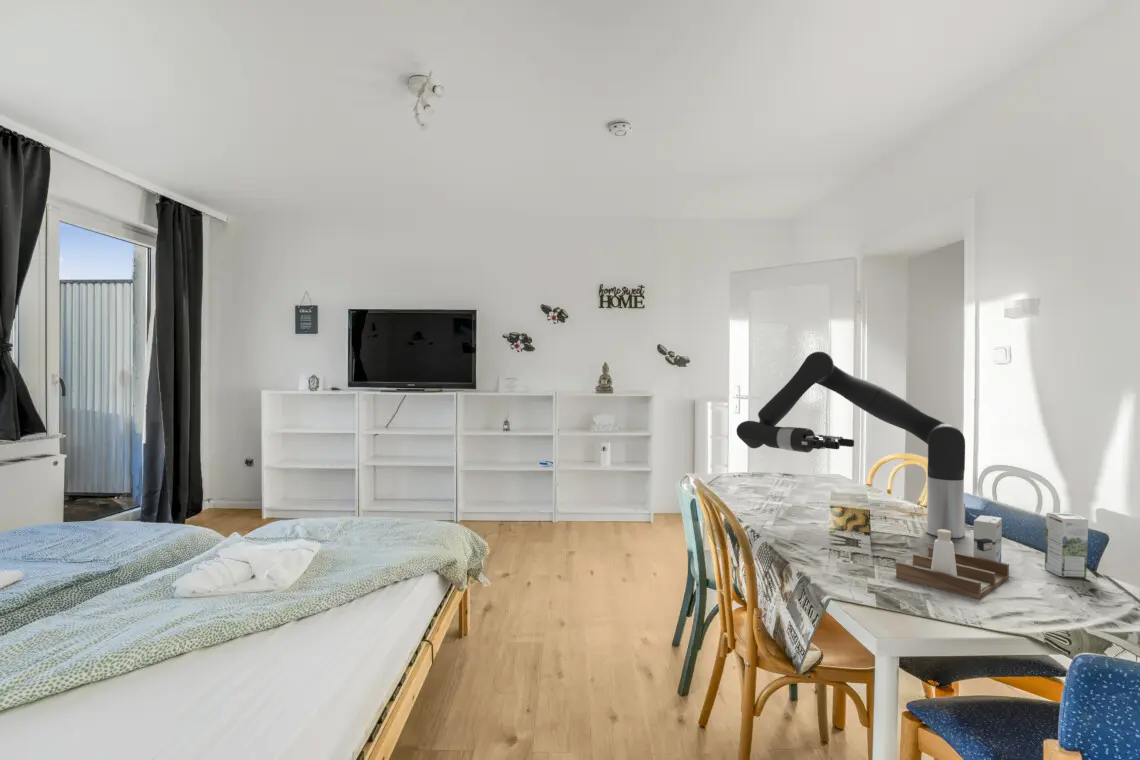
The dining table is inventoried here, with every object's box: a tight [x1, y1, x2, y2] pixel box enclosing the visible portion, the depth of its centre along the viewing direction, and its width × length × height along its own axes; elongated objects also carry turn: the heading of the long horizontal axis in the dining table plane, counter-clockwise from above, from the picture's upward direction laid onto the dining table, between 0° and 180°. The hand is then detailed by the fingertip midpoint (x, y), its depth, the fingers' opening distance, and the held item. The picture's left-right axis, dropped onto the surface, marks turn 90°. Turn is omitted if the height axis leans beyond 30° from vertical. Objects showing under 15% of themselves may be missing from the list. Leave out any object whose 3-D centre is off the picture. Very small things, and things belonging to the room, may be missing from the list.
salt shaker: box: [931, 529, 957, 576], centre depth 135 cm, size 5×5×11 cm
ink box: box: [973, 514, 1003, 563], centre depth 148 cm, size 8×5×12 cm, turn 135°
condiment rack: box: [895, 546, 1010, 600], centre depth 138 cm, size 20×17×4 cm
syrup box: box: [1044, 512, 1089, 579], centre depth 140 cm, size 6×6×14 cm
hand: (846, 444), depth 169 cm, fingers open, 8 cm apart
